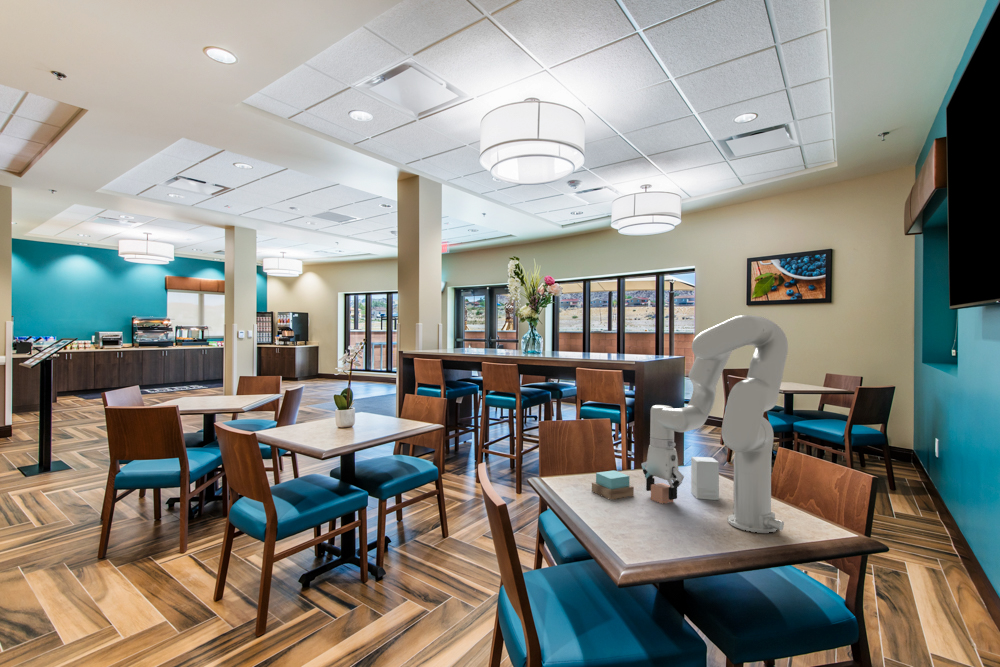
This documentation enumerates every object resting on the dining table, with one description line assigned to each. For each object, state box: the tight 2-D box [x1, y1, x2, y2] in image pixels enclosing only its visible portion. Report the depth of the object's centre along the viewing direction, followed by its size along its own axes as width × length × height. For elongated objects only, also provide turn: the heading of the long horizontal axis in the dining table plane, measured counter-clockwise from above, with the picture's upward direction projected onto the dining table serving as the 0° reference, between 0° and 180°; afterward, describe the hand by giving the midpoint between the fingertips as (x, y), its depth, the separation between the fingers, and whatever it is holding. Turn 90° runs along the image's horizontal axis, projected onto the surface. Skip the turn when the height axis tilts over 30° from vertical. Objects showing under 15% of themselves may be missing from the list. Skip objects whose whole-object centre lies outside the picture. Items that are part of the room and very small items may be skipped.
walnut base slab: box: [591, 481, 635, 500], centre depth 162 cm, size 10×10×4 cm
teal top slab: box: [595, 470, 630, 489], centre depth 162 cm, size 8×8×4 cm
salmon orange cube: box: [650, 482, 674, 505], centre depth 155 cm, size 5×5×5 cm
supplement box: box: [690, 456, 720, 501], centre depth 160 cm, size 7×7×13 cm
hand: (661, 494), depth 155 cm, fingers open, 9 cm apart
